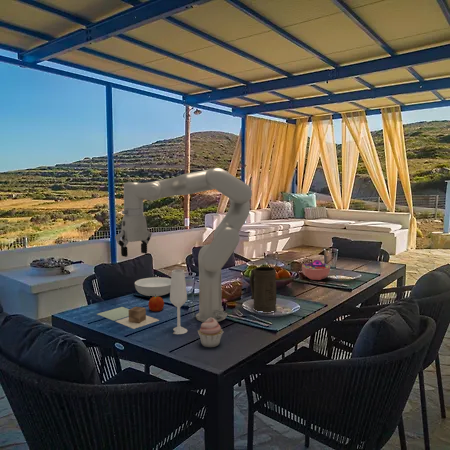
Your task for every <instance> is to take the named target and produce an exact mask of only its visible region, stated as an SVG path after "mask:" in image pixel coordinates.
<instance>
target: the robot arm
mask: <svg viewBox="0 0 450 450" xmlns="http://www.w3.org/2000/svg"><path fill="white" fill-rule="evenodd" d="M213 190H215V191H217V192H219V193H220V194H221V195H223V196H225V197H226V198H228V199H229V203H230V206H229V208H228V210H227V212H226V213H225V216H224V217H223V218H222V220H221V221H220V223H219V224H218V225H217V227H216V228H215V230H214V231H213V232H214V233H213V240H212V241H211V242H210V244H209V243H208V244H205V245H204V246H202V247H200V249H199V252H198V258H197V260H198V291H199V292H198V299H199V301H198V303H199V304H198V305H199V307H198V309H199V312H198V313H196V314H195V319H196V320H197V321H199V322H202V323H204V322H206V320H207V319H208V318H214V319H215V320H216V321H217V322H218V323H219V322H221V321H223V320H226V318H227V316H228V313H227V312H224V308H223V307H222V306H223V305H222V304H223V303H222V302H223V301H222V280H223V279H222V268H223V267H224V266H225V265H226V263H228V261H229V258H230V257H231V256H232V254H233V253H234V251H235V250H236V249H237V247H238V246H239V242H240V239H241V238H240V231H241V229H242V227H244V224H245V223H246V221H247V220H248V217H249V214H250V208H251V205H250V203H251V201H250V200H251V199H252V196H253V193H252V192H253V191H252V188H251V187H250V185H248V184H247V183H246V182H244V181H243V180H241V179H239V178H237V177H236V176H235V175H233V174H231V173H230V172H229V171H226V170H225V169H223V168H221V167H213V168H209V169H205V170H200V171H193V172H188V173H183V174H180V175H177V176H175V177H171V178H164V179H161V180H155V181H148V182H140V181H139V182H138V181H137V182H136V181H135V182H134V181H132V182H131V181H127V182H124V184H123V210H122V211H121V214H122V215H124V216H122V222H121V230H120V231H121V232H119V233H117V235H115V236H114V239H115V240H116V243H117V244H118V245H119V247H120V254H121V257H124V258H127V257H128V246H127V245H128V244H129V243H133V242H141V243H140V252H141V254H147V253H148V244H149V242H150V240H151V238H152V235H153V232H151V231H149V230H148V225H147V223H148V222H147V218H146V216H145V215H144V201H151V202H154V201H157V200H159V199H163V198H168V197H174V196H186V195H193V194H197V193H203V192H207V191H213Z"/></svg>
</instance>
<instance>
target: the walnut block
mask: <svg viewBox="0 0 450 450" xmlns="http://www.w3.org/2000/svg"><path fill="white" fill-rule="evenodd" d="M128 311H129V316H128V317H129V322H133V323H141V322H143V321H144V320H146V315H147V311H146V307H142V306H134V307H131V308H130V310H128Z"/></svg>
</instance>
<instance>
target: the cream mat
mask: <svg viewBox="0 0 450 450" xmlns="http://www.w3.org/2000/svg"><path fill="white" fill-rule="evenodd" d="M159 321H160V319H158V318H155V317H151V316H149V315H147V314H146V320H144V321H143V322H141V323H133V322H129V316H128V317H124V318H121V319H118V320H115V323H118V324H121V325H123V326H125V327H128V328H129V329H133V330H135V329H138V328H142V327H145V326H147V325H150V324H153V323H156V322H159Z"/></svg>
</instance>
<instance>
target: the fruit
mask: <svg viewBox="0 0 450 450" xmlns="http://www.w3.org/2000/svg"><path fill="white" fill-rule="evenodd" d="M155 296H156V294H155ZM164 306H165V301H164V299H163V297H162V296H156V297H150V299H149V300H148V308H149V310H150V311H151V312H156V313H157V312H161V311H162V310H163V308H165V307H164Z"/></svg>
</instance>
